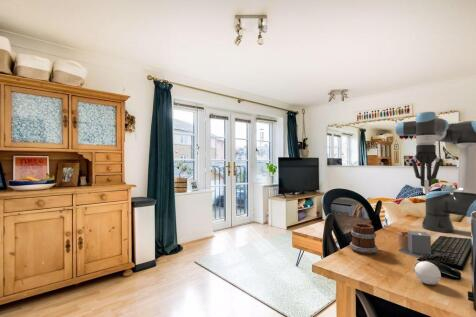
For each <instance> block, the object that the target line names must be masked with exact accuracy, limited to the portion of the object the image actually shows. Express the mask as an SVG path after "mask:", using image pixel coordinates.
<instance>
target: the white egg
mask: <svg viewBox="0 0 476 317" xmlns="http://www.w3.org/2000/svg"><path fill="white" fill-rule="evenodd" d="M413 271H414V274H415V277H416V278H417V279H418V280H419V281H420V282H421V283H423V284H426V285H429V286H430V285H435V284H438V283H439V282H440V281H441V278H442V275H441V271H440V269H439V267H438V266H437V265H436V264H434V263H432V262H430V261H426V260H424V261H419V262H418V263H416V265H415V266H414V269H413Z"/></svg>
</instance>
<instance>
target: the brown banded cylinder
mask: <svg viewBox="0 0 476 317" xmlns="http://www.w3.org/2000/svg"><path fill="white" fill-rule="evenodd" d="M372 222H373V221H372V220H370V219H369V220H367V222H366V223H360V222H359V223H357V222H356V223H353V225H352V229H351V231H350V232H351V233H350V235H352V238H351V239H352V240H351V242H349V247H350V249H352V250H353V251H352V250H351V251H352V252H354V253H356V252H357V253H356V254H359V255H363V254H364V256H371V255H375V254H376V253H377V251H378V249H379V247H378V246H377V245H376V241H375V238H377V234H376V232H375V227H374V226H373V225H372Z"/></svg>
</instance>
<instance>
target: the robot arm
mask: <svg viewBox="0 0 476 317" xmlns="http://www.w3.org/2000/svg"><path fill="white" fill-rule="evenodd" d="M415 117H416V118H415V120H411V121H402V122H401V121H400V122H398V123H397V124H396V125H395V127H394V129H395V134H396V135H397V136H399V137H401V136H402V137H405V136H410V137H415V144H416V146H415V149H416V150H415V155H414V157H413V158H410V159H409V162H410V163H411V164H412V168H413V171H414V176H415V178H416V179H419V180H420V187H422V193H423V194H424V195H425V198H424V200H425V215H424V218H423V221H422V224H421V227H422V229H425V230H429V231H433V232H438V233H439V232H440V233H453V232H454V231H455V229H454V228H455V227H454V225H453V222H452V219H451V215H455V216H461V217H467V218H472V217H471V213H472V212H473V211H476V120H472V121H464V122H463V121H462V122H455V123H449V122H448V121H447V120H446V119H443V118H440V117H438V118H437V115H436V112H435V111H423V112H418V113H417V114H416V115H415ZM437 142H441V143H450V144H452V143H453V144H454V143H456V144H455V145H456V147H458V148H459V150H458V151H459V152H458V153H459V154H458V168H457V169H458V171H457V185H456V187H457V188H456V189H455V190H453V194H452V193H451V191H449V190H448V191H447V190H439V191H438V190H437V191H436V190H434V191H429V188H431V187H432V180H436V178H437V176H438V173H439V169H440V166H441V164H442V162H443V158H439V157H438V156H437V155H438V154H437V149H436V148H437V146H436V144H437ZM434 161H435V163H434ZM417 162H418V163H419V166H420V168H419V167H418V165H417ZM433 163H434V166H433V165H432V164H433ZM432 166H433V171H432ZM425 172H426V173H425Z"/></svg>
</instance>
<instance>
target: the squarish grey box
mask: <svg viewBox="0 0 476 317" xmlns="http://www.w3.org/2000/svg"><path fill="white" fill-rule="evenodd" d="M407 232H408V248H409V250H410V251H411V252H412V253H420V254H429V255H431V251H432V248H431V247H432V244H431V243H432V236H431V235H430V234H428V233H427V232H426V231H415V230H407Z"/></svg>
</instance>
